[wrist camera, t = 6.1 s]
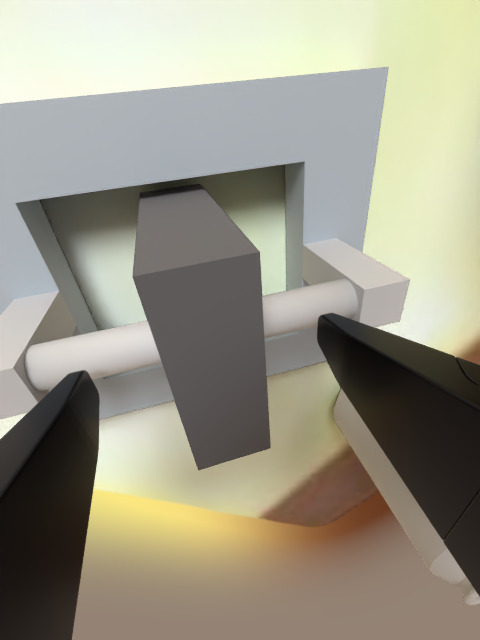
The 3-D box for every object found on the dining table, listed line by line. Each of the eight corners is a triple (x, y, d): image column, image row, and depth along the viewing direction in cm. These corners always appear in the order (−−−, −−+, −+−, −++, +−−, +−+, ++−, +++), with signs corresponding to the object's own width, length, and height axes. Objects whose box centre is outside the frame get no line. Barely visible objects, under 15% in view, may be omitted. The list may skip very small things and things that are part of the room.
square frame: (355, 76, 12) (527, 26, 6) (330, 336, 19) (400, 416, 13) (-106, 122, 9) (-466, 104, 4) (69, 400, 16) (29, 528, 11)
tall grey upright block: (199, 183, 12) (259, 251, 6) (221, 319, 16) (270, 448, 10) (140, 192, 11) (132, 276, 5) (177, 329, 15) (198, 470, 9)
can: (333, 363, 20) (503, 578, 10) (425, 343, 22) (651, 516, 12) (322, 431, 24) (436, 630, 15) (399, 410, 26) (551, 581, 16)
